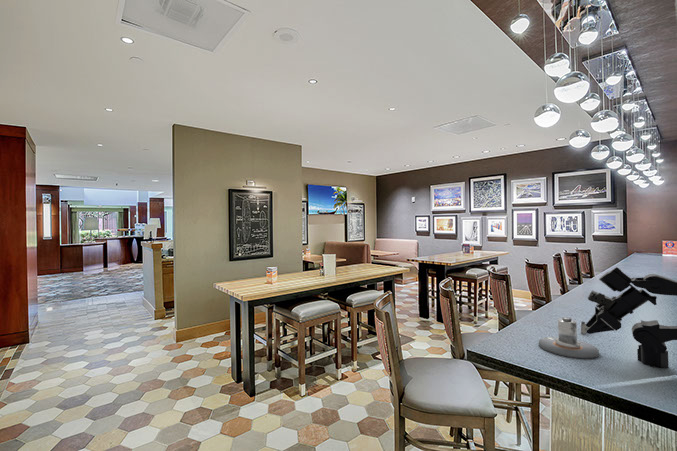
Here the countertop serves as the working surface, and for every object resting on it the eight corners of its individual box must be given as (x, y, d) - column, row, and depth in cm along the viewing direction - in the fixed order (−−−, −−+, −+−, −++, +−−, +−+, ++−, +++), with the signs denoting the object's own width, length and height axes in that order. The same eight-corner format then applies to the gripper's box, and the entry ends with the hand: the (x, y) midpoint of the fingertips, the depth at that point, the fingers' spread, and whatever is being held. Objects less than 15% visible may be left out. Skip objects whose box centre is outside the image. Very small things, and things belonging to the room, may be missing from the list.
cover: (586, 348, 113) (585, 320, 113) (568, 350, 112) (567, 322, 112) (567, 340, 120) (566, 314, 121) (550, 342, 119) (549, 316, 119)
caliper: (584, 337, 131) (583, 322, 131) (581, 336, 132) (580, 322, 132) (595, 327, 144) (594, 313, 145) (592, 326, 145) (591, 313, 145)
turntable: (612, 355, 109) (612, 352, 109) (568, 360, 106) (568, 357, 106) (566, 338, 127) (566, 335, 127) (527, 342, 123) (527, 339, 123)
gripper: (602, 280, 117) (567, 306, 124) (606, 288, 102) (566, 317, 109) (632, 304, 112) (594, 329, 119) (640, 315, 97) (596, 344, 104)
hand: (587, 329), depth 113 cm, fingers open, 9 cm apart
